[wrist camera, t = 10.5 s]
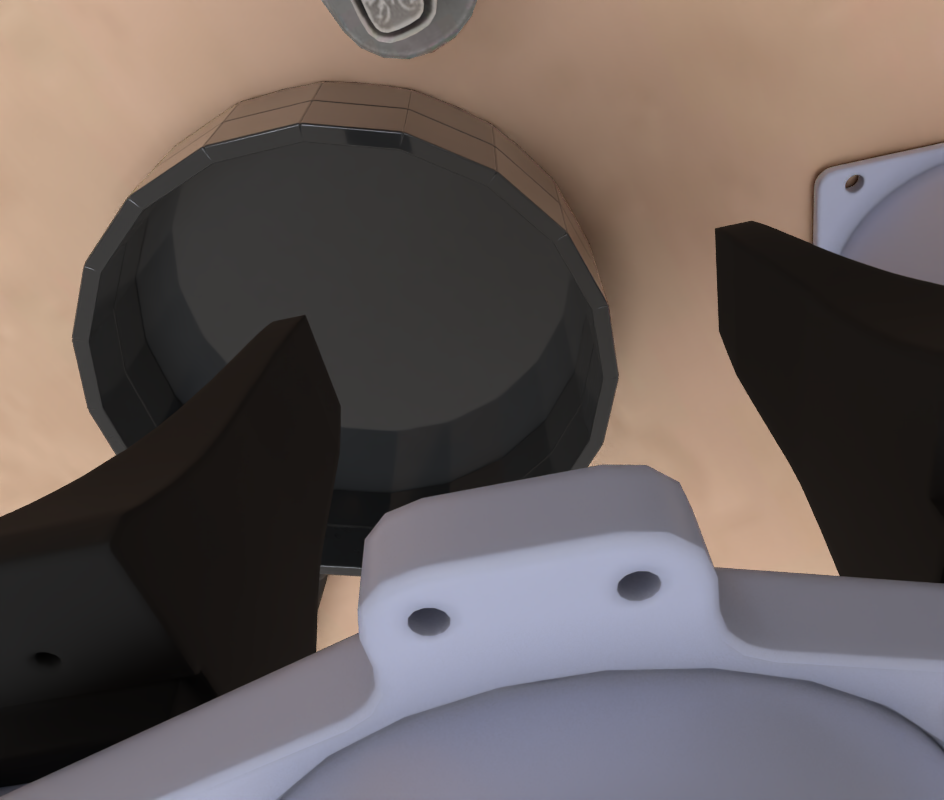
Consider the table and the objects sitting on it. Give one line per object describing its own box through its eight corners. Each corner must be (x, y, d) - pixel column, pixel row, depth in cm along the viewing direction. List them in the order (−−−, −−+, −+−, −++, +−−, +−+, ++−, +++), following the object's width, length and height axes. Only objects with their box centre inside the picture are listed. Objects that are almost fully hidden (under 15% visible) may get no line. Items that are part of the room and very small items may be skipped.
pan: (555, 21, 21) (572, 57, 18) (622, 456, 29) (642, 535, 26) (31, 151, 23) (-41, 204, 19) (236, 525, 31) (210, 607, 28)
